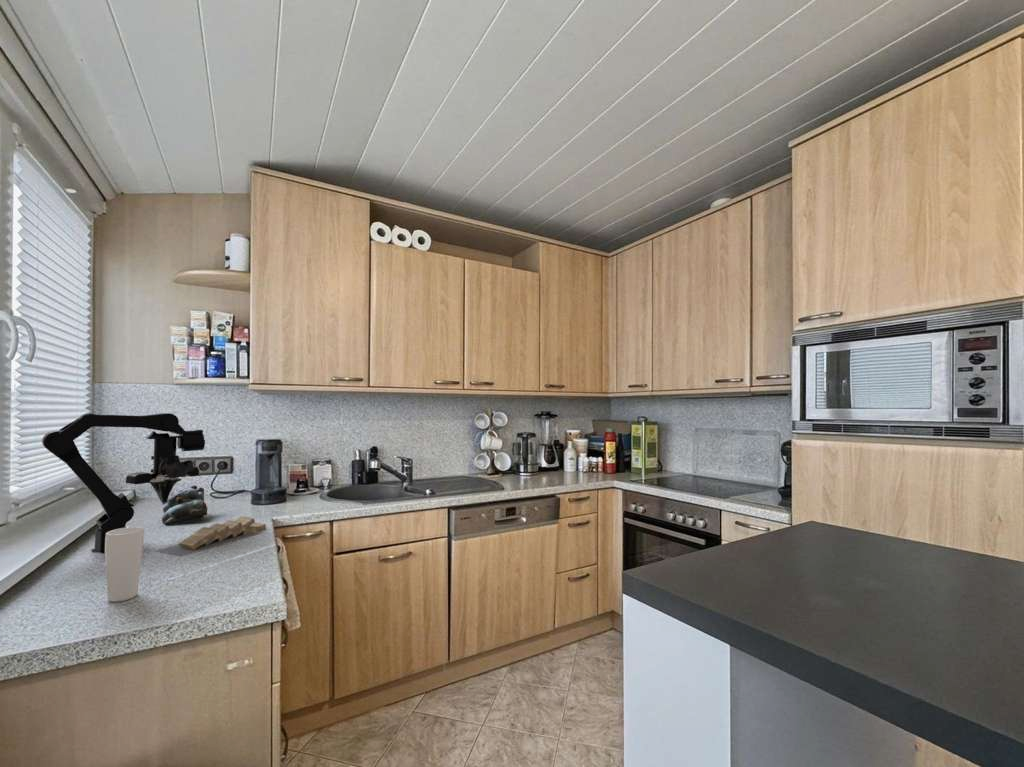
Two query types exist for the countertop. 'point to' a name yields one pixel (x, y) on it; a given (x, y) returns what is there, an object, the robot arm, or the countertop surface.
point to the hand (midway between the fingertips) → (163, 502)
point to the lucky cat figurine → (184, 505)
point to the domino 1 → (198, 538)
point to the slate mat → (180, 551)
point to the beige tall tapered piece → (123, 562)
